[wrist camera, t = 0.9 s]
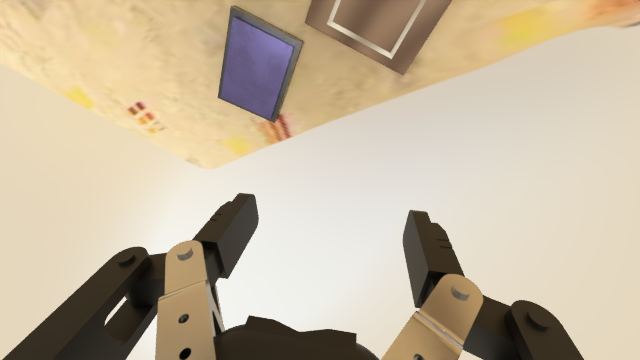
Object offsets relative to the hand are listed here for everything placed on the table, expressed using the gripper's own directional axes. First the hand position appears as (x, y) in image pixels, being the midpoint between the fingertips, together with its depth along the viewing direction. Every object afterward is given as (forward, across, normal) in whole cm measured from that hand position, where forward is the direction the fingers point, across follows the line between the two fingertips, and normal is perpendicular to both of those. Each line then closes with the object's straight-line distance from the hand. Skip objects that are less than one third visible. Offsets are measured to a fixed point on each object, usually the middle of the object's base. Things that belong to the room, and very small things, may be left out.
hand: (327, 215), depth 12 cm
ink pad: (+25, +13, -4) cm, 29 cm away
